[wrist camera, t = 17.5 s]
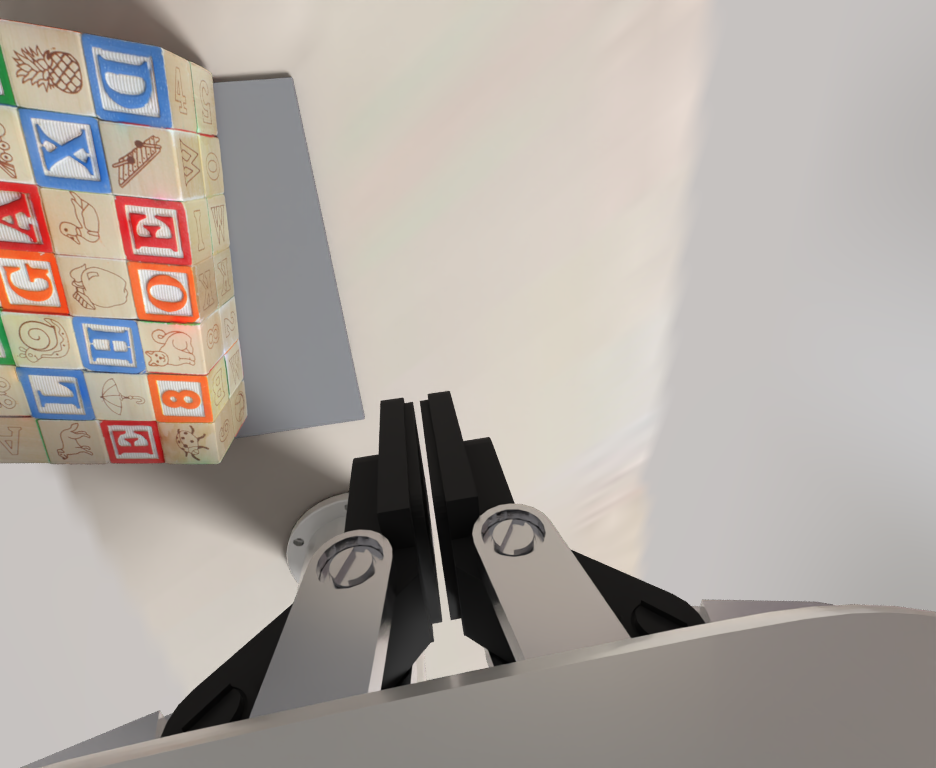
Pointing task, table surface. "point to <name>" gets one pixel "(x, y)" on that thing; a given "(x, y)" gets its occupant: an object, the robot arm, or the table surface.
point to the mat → (281, 265)
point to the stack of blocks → (112, 256)
